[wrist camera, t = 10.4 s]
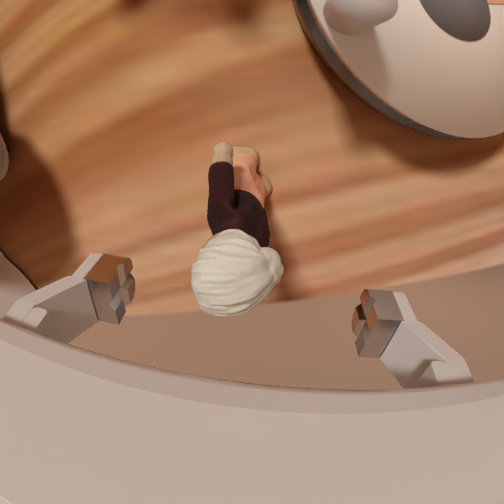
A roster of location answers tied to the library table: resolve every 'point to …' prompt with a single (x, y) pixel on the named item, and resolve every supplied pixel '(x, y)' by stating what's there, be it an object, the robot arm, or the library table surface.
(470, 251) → the library table surface
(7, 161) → the head bust
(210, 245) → the grandmother figurine
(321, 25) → the turntable
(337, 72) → the turntable base
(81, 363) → the robot arm
